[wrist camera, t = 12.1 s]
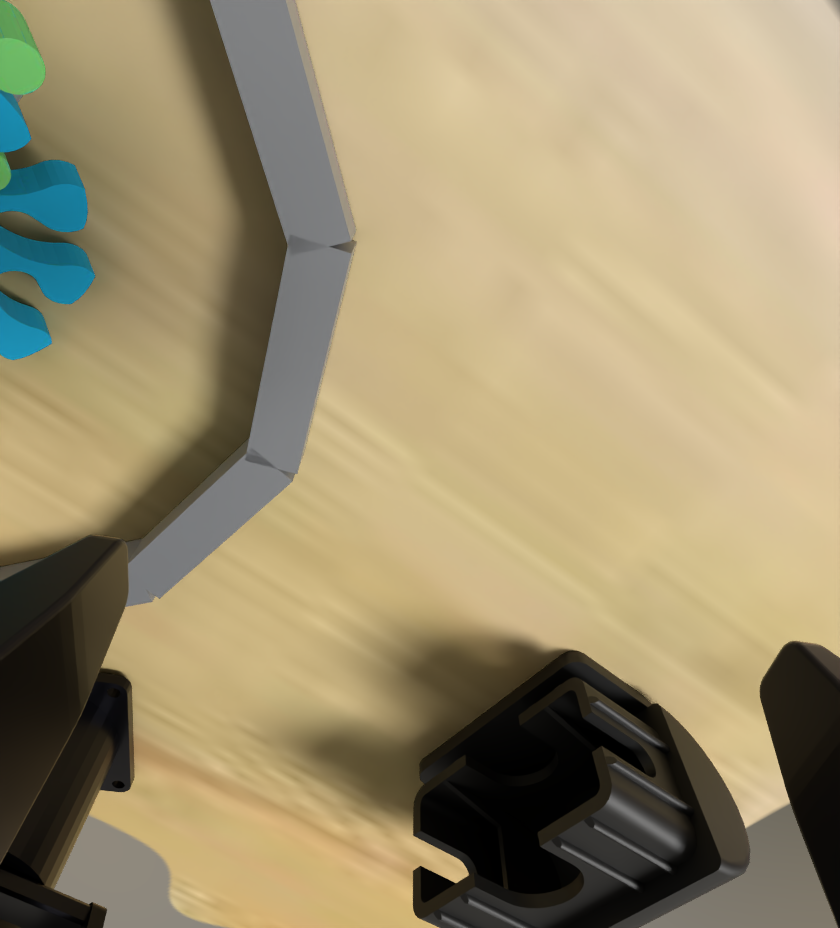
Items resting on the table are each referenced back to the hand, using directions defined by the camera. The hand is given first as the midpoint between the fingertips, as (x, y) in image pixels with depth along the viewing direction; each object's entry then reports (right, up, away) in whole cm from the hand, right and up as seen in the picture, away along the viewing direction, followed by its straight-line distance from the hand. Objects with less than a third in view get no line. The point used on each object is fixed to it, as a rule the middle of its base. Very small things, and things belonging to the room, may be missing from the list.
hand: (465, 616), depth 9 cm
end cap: (+5, -10, +18) cm, 21 cm away
